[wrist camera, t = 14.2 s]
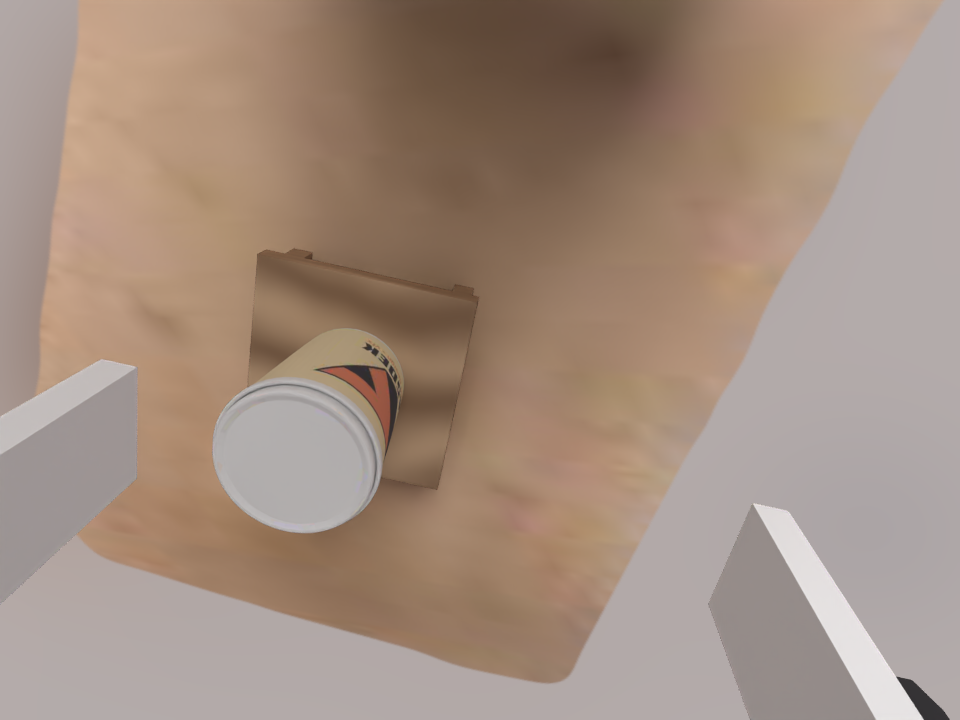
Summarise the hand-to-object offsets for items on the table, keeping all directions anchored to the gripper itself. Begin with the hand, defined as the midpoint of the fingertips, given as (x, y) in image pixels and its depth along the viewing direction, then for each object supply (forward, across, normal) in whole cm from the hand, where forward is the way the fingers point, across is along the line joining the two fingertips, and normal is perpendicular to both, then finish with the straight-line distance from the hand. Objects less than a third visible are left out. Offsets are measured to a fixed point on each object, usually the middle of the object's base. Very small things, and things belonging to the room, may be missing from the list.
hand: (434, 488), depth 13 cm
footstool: (+35, -8, -12) cm, 38 cm away
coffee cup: (+29, -8, -12) cm, 33 cm away
